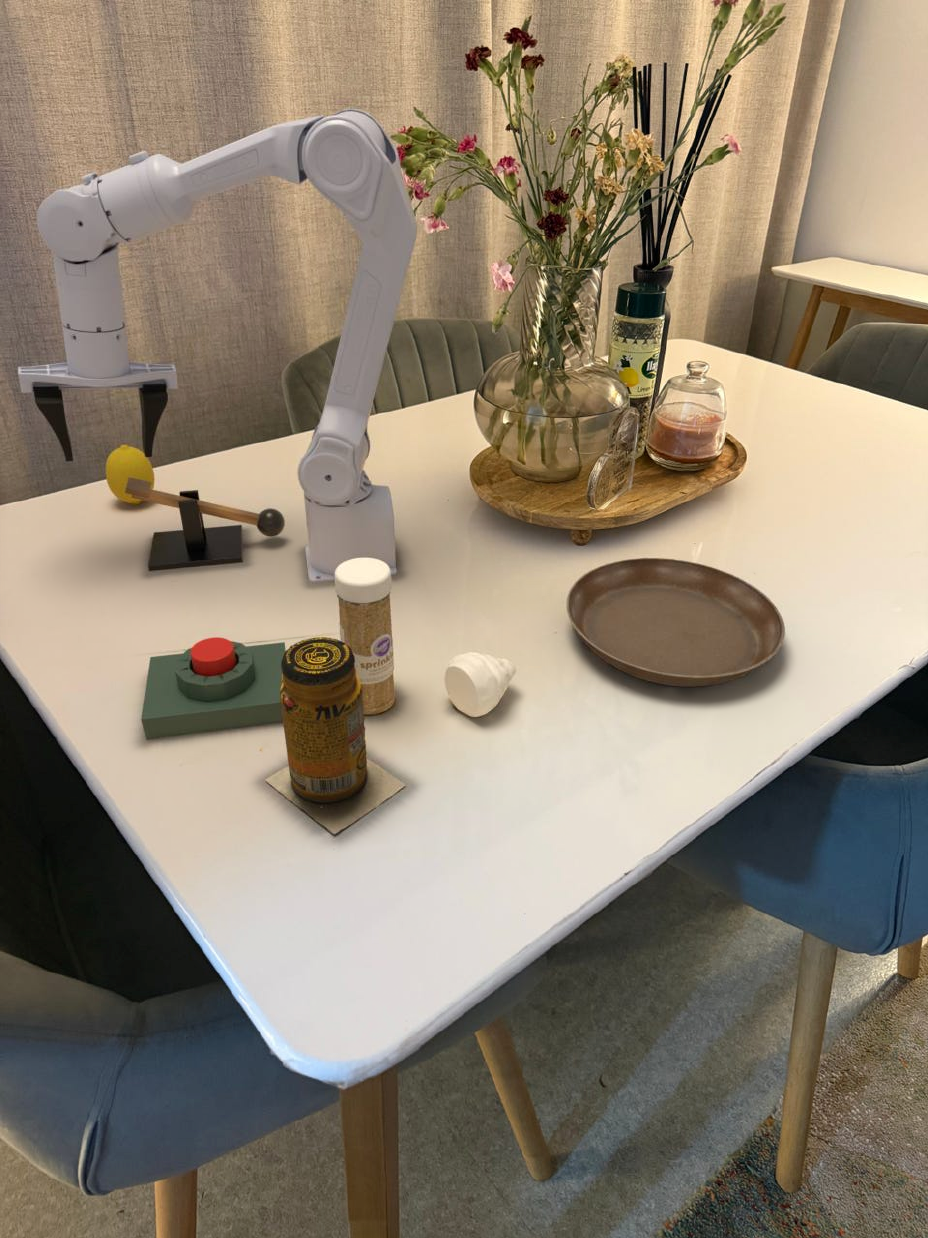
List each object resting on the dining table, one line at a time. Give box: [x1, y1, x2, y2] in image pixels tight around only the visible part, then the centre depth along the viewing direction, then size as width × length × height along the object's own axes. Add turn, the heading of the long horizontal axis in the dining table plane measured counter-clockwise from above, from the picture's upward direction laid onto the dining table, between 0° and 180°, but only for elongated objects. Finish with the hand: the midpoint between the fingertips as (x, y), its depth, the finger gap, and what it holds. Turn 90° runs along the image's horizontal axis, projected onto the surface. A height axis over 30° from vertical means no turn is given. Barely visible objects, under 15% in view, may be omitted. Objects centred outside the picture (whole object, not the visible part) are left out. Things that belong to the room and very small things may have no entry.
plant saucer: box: [566, 557, 786, 688], centre depth 86 cm, size 21×21×3 cm
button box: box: [141, 640, 287, 740], centre depth 78 cm, size 12×9×4 cm
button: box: [190, 636, 236, 677], centre depth 76 cm, size 4×4×2 cm
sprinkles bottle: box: [334, 558, 397, 715], centre depth 75 cm, size 5×5×14 cm
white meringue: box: [444, 651, 517, 718], centre depth 77 cm, size 6×6×5 cm
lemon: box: [105, 444, 155, 506], centre depth 109 cm, size 6×6×8 cm
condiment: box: [265, 636, 407, 835], centre depth 66 cm, size 7×8×12 cm
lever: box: [125, 477, 286, 538], centre depth 99 cm, size 17×3×3 cm, turn 102°
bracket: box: [147, 489, 244, 572], centre depth 99 cm, size 10×8×7 cm
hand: (109, 455), depth 93 cm, fingers open, 7 cm apart
